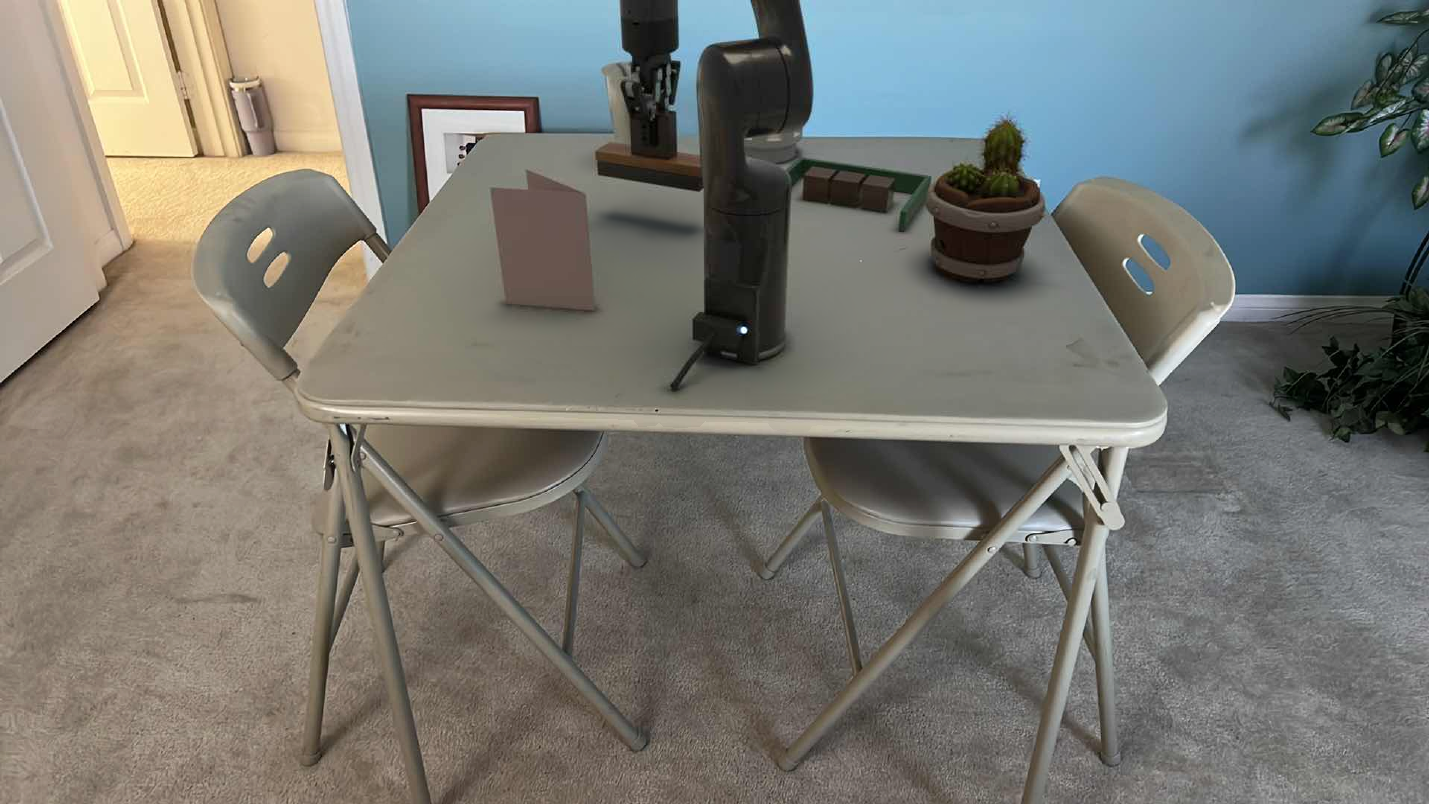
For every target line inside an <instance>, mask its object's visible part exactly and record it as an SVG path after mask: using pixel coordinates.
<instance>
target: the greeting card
mask: <svg viewBox="0 0 1429 804" xmlns="http://www.w3.org/2000/svg"><path fill="white" fill-rule="evenodd" d="M525 173H526V183H527V189H522V188H509V187H492V186H490V187H489V191H490V199H491V206H492V212H493V213H492V214H493V220H494V228H495V234H496V240H497V249H498V250H497V251H498V256H499V264H500V271H501V277H502V284H503V285H502V286H503V293H504V300H505V304H507V305H521V306H530V307H531V306H533V307H544V308H546V307H547V308H557V309H569V310H580V311H591V312H593V311H596V307H595V306H596V305H595V293H594V281H593V279H594V278H593V267H592V255H591V254H592V253H591V243H590V231H589V217H588V205H587V193H585V192H583V191H581V190H579V189H576V188H573V187H571V186H569V185H567V184H564V183H562V182H559V181H556V180H554V179H553V178H550V177H547V176H545V175H542V174H539V173H537V172H535V171H532V170H530V169H527V168H525Z"/></svg>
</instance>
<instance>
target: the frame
mask: <svg viewBox="0 0 1429 804" xmlns="http://www.w3.org/2000/svg"><path fill="white" fill-rule="evenodd" d="M811 167H819V168H826V169H833V170H837V174H838V173H839V172H840V171H847V172H853V173H860V174H866V177H865V180H866V179H867V178H868V177H869V176H870V175H874V176H880V177H887V178H894V179H896V180H895V189H894V192H899V193H900V192H901V193H904V194H905V193H907V194H912V195H911V196H910V197H909V198H908V200H907V202H906V203H905V204H904V206H903V207H902V209H901V210H900V212H899V219H898V220H899V222H898V232H899V231H900V232H905V230H906V228H908V226H909V225H910V224H911V222H912V220H913V218H914V217H915V215H916V214H917V213H918V211H919V209H921V207H922V205H923V204H924V202H926V195H927V191H928V188H929V186H930V185H931V184H932V175H927V174H921V173H914V172H907V171H899V170H893V169H885V168H878V167H872V166H864V165H858V164H852V163H843V162H837V161H829V160H824V159H815V158H809V157H808V158H807V157H802V156H799V157H798V158H797V159H796V160H795V161H793V163H792V164H790V165H789V166H788V167H787V168H786V169H785V170H786V171H787V172H788V173H789V175H790V177H791V182H792V187H793V186H794V185H795V184H797V182H798V181H799V180H801V178H804V174H805V173H806V172H807V171H808V170H809V169H810V168H811ZM837 174H836V175H837Z"/></svg>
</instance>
